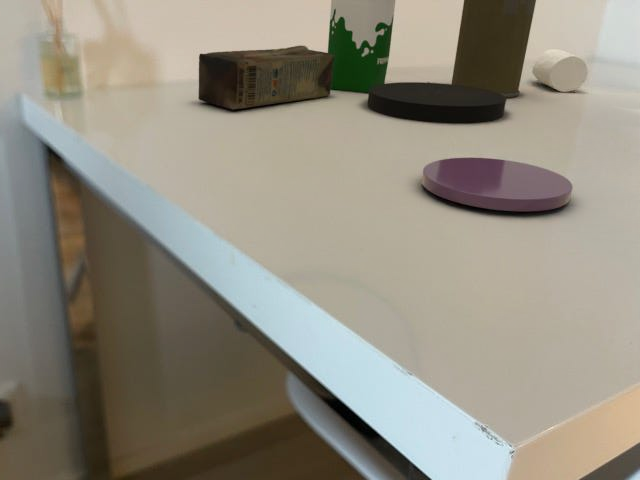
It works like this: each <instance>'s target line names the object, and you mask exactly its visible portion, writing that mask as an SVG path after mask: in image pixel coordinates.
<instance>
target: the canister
mask: <svg viewBox="0 0 640 480" xmlns="http://www.w3.org/2000/svg"><path fill="white" fill-rule="evenodd" d="M536 2H537V0H463V5H462V12H461V19H460V26H459V31H458V39H457V45H456V51H455V57H454V65H453V72H452V77H451V84H453V85H462V86H469V87H475V88H481V89H486V90H490V91H493V92H497V93H499V94H502V95H504V96H505V97H506V99H510V98H514V97H518V96H519V95H520V94H521V93H520V90H519V89H520V84H521V79H522V74H523V69H524V64H525V59H526V53H527V48H528V44H529V38H530V35H531V34H530V33H531V28H532V23H533V18H534V13H535V8H536Z"/></svg>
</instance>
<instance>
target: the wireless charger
mask: <svg viewBox="0 0 640 480" xmlns="http://www.w3.org/2000/svg"><path fill="white" fill-rule="evenodd" d="M367 96H368V97H367V107H368V108H369V109H370V110H372V111H374V112H377V113H380V114H383V115H386V116H391V117H395V118H400V119H405V120H406V119H407V120H413V121H421V122H431V123H448V124H449V123H452V124H464V123H465V124H466V123H467V124H471V123H473V124H474V123H483V122H491V121H495V120H496V121H497V120H499V119H501V118H503V116H504V114H505V108H506V103H507V98H506V97H505V96H504V95H502V94H499V93H497V92H493V91H490V90H486V89H481V88H475V87H469V86H462V85H453V84H452V83H441V82H419V81H417V82H416V81H413V82H411V81H406V82H405V81H404V82H403V81H401V82H390V83H389V82H387V83H386V82H385V83H384V84H380V85H375V86H372V87H370V88H369V93H368V95H367Z"/></svg>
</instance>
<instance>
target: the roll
mask: <svg viewBox="0 0 640 480" xmlns="http://www.w3.org/2000/svg"><path fill="white" fill-rule="evenodd" d="M588 74H589V68H588V65H587V63H586V62H585V61H584V60H583V58H581V57H580V56H577V55H574V54H572V53H570V52H568V51H566V50H563V49H562V50H561V49H558V48H557V49H556V48H554V49H548V50H547V49H546V50H545V51H544V52H543V53H541V54H540V55H539V56H538V57H537V58H536V59H535V61H534V63H533V65H532V75H533V76H534V78H535V79H536V80H537V81H539V82H540V83H542V84H543V85H546V86H548V87H550V88H552V89H554V90H556V91H558V92H561V93H569V92H572V91H575V90H577V89H579V88H580V87H582V86H583V85H584V83H585V82H586V80H587V78H588Z"/></svg>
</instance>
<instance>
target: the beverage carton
mask: <svg viewBox="0 0 640 480" xmlns="http://www.w3.org/2000/svg"><path fill="white" fill-rule="evenodd" d="M333 62H334V55H333V54H330V53H328V52H326V51H321V50H320V51H318V50H313V49H309V48H308V46H306V45H294V46H289V47H286V48H285V47H280V48H271V49H247V50H231V51H228V50H227V51H214V52H207V53H199V55H198V100H199V101H202V102H204V103H208V104H211V105H214V106H215V105H216V106H218V107H222V108H226V109H229V110H232V111H233V110H241V109H247V108H254V107H263V106H266V105H267V106H269V105H275V104H282V103H288V102H289V103H290V102H295V101H302V100H309V99H316V98H323V97H324V98H325V97H329V96H330V95H331V90H332V89H331V85H332V77H333Z"/></svg>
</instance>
